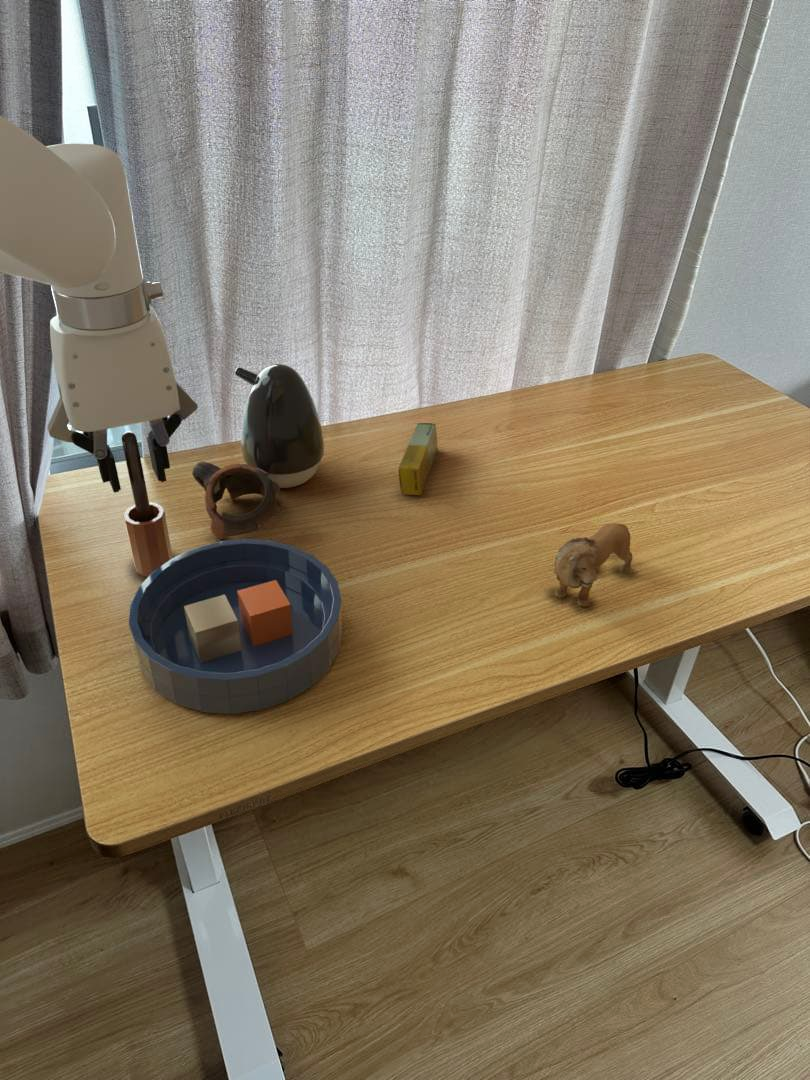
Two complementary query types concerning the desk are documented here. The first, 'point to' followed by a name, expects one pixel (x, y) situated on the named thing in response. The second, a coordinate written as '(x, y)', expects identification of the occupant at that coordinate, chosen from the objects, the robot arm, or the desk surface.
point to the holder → (148, 539)
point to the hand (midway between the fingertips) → (137, 478)
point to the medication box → (418, 459)
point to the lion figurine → (590, 559)
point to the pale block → (212, 628)
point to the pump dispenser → (281, 426)
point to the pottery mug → (237, 484)
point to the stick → (136, 476)
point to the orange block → (265, 612)
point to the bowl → (255, 669)
